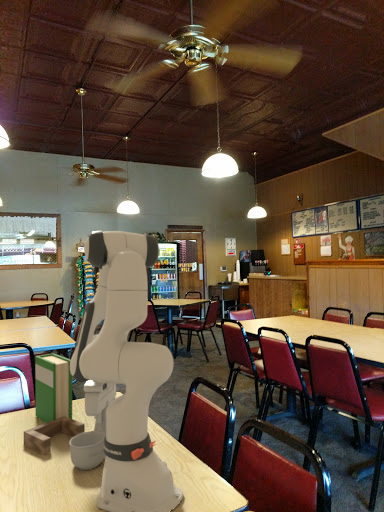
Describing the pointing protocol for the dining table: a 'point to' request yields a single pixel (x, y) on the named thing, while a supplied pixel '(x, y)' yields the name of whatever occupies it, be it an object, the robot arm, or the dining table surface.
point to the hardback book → (53, 387)
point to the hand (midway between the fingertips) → (102, 419)
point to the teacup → (87, 449)
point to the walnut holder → (51, 433)
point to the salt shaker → (103, 424)
